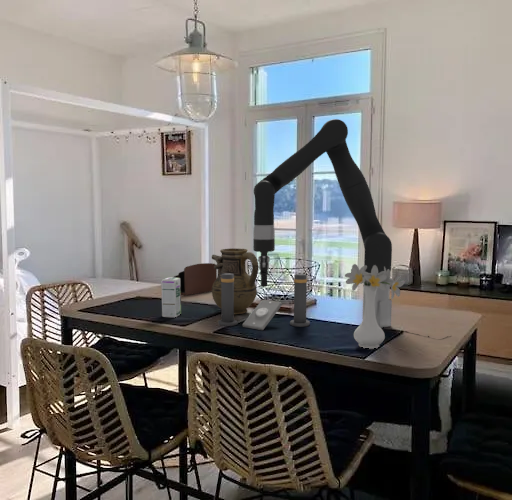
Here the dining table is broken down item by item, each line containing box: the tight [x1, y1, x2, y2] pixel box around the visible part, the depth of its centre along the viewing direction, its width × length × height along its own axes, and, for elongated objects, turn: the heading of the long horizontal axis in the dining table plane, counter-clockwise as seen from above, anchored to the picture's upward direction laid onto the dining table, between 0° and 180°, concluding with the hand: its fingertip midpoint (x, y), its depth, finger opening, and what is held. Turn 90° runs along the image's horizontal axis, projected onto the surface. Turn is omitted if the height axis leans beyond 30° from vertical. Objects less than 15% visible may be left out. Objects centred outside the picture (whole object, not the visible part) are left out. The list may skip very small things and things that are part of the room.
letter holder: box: [173, 262, 218, 296], centre depth 256 cm, size 10×20×14 cm, turn 136°
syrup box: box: [160, 276, 182, 318], centre depth 204 cm, size 6×6×14 cm
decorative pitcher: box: [211, 247, 260, 315], centre depth 209 cm, size 22×18×25 cm
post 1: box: [217, 273, 238, 327], centre depth 191 cm, size 7×7×18 cm
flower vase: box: [344, 263, 406, 350], centre depth 162 cm, size 13×18×25 cm
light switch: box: [242, 299, 283, 331], centre depth 191 cm, size 8×6×14 cm
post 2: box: [289, 273, 311, 328], centre depth 190 cm, size 7×7×18 cm
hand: (264, 286), depth 190 cm, fingers closed
